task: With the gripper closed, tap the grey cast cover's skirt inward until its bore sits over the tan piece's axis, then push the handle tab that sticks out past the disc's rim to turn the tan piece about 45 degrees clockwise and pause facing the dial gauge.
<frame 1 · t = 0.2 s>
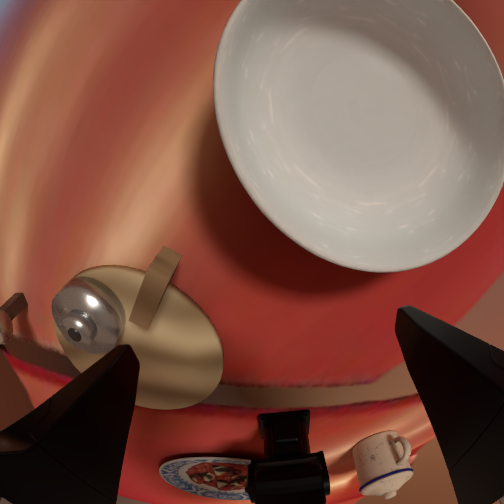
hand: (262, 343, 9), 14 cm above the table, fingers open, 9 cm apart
ceramic plate: (228, 473, 42), on the table
teacup with lid: (379, 437, 37), on the table
tan piece: (123, 357, 24), point 3 cm above the table, hinge at 0.0°, touching cover
serving bowl: (362, 109, 19), on the table
dial gauge: (21, 298, 26), on the table
cover: (93, 309, 24), point 2 cm above the table, touching tan piece
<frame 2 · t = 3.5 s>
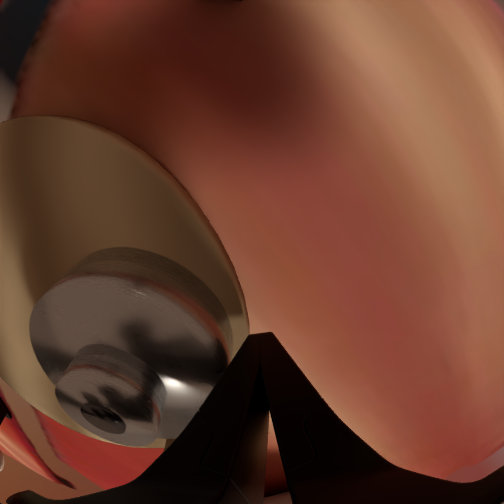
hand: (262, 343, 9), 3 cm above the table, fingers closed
tan piece: (44, 359, 9), point 3 cm above the table, hinge at 0.2°
serving bowl: (305, 496, 22), on the table
cover: (140, 334, 10), point 2 cm above the table, touching gripper
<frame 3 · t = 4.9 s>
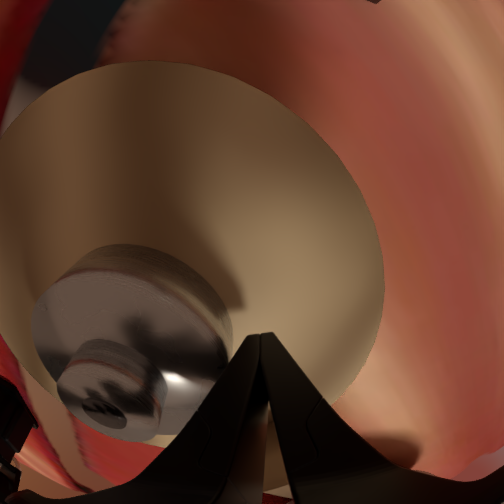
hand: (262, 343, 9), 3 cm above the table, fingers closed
tan piece: (141, 361, 9), point 3 cm above the table, hinge at 0.2°, touching cover
cover: (141, 330, 10), point 2 cm above the table, touching tan piece
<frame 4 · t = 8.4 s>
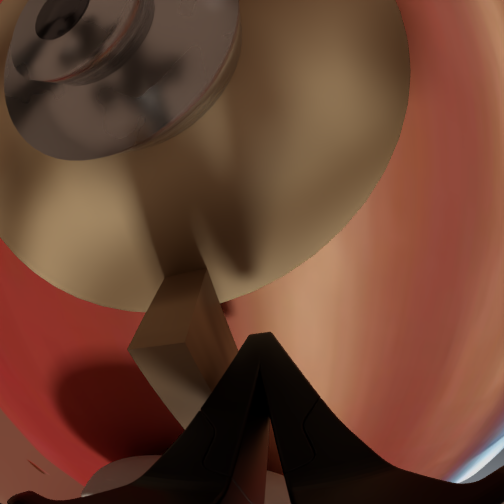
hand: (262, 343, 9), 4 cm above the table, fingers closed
tan piece: (117, 52, 6), point 3 cm above the table, hinge at 0.0°, touching cover, gripper
serving bowl: (208, 474, 20), on the table
cover: (131, 49, 7), point 2 cm above the table, touching tan piece
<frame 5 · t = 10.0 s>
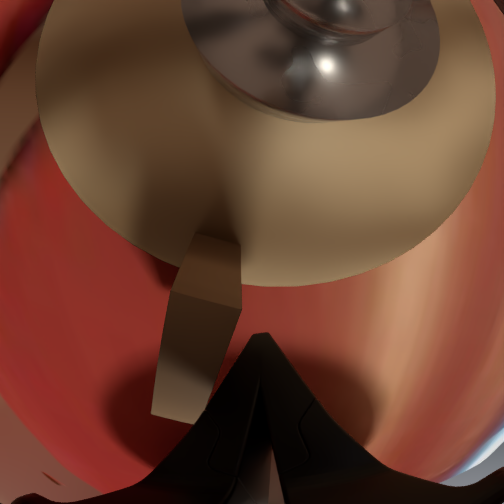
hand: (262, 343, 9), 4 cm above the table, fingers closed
tan piece: (309, 23, 6), point 3 cm above the table, hinge at -31.9°, touching cover, gripper
serving bowl: (265, 469, 20), on the table
dial gauge: (503, 6, 6), on the table
cover: (305, 25, 7), point 2 cm above the table, touching tan piece
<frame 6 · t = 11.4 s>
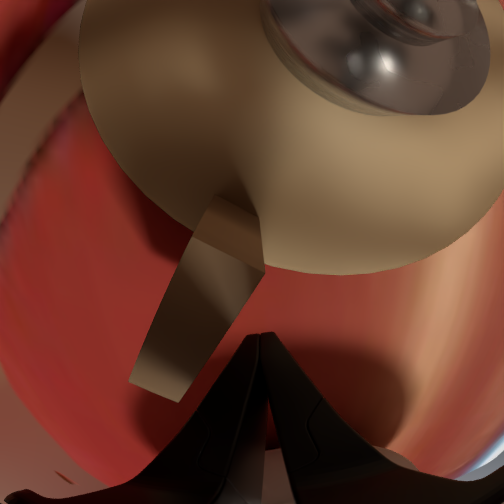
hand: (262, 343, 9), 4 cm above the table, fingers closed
tan piece: (375, 18, 5), point 3 cm above the table, hinge at -43.7°, touching cover
serving bowl: (293, 465, 20), on the table
cover: (366, 21, 6), point 2 cm above the table, touching tan piece
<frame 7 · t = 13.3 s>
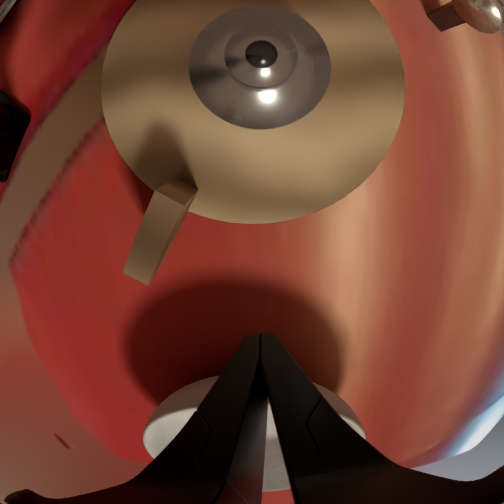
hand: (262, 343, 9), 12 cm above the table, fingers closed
tan piece: (254, 74, 13), point 3 cm above the table, hinge at -43.7°, touching cover
serving bowl: (253, 408, 28), on the table
dial gauge: (438, 20, 12), on the table
cover: (259, 72, 14), point 2 cm above the table, touching tan piece
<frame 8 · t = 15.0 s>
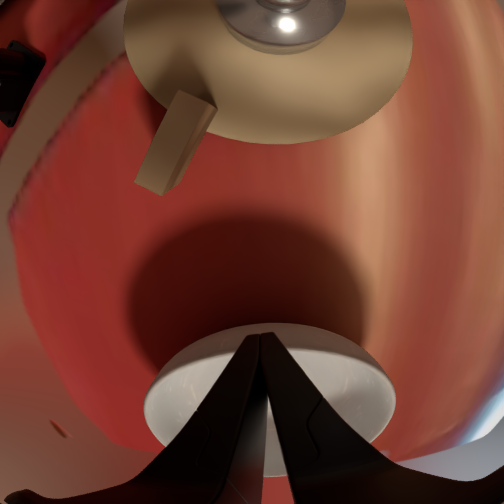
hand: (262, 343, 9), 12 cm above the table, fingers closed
tan piece: (275, 5, 11), point 3 cm above the table, hinge at -43.7°, touching cover
serving bowl: (267, 377, 26), on the table
cover: (278, 8, 12), point 2 cm above the table, touching tan piece
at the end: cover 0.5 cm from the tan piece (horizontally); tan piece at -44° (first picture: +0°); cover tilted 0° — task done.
